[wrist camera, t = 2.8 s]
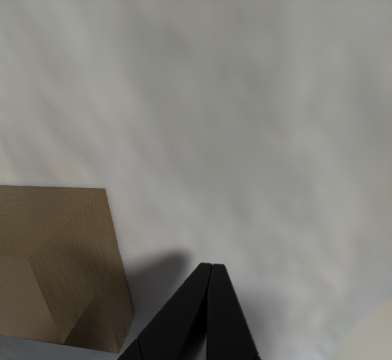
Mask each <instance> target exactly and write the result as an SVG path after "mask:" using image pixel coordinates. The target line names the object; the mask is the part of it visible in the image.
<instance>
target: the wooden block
mask: <svg viewBox="0 0 392 360" xmlns="http://www.w3.org/2000/svg"><path fill="white" fill-rule="evenodd" d="M133 320H134V313H133V309H132V304H131V300H130V295H129V291H128V286H127V282H126V277H125V273H124V268H123V264H122V259H121V255H120V253H119V249H118V244H117V240H116V235H115V231H114V226H113V222H112V217H111V213H110V208H109V204H108V199H107V195H106V190H105V189H102V188H71V187H39V186H7V185H0V335H4V336H10V337H17V338H23V339H29V340H36V341H42V342H48V343H55V344H61V345H68V346H74V347H80V348H87V349H93V350H99V351H106V352H112V353H119V352H120V349H121V347H122V345H123V343H124V340H125V338H126V336H127V333H128V331H129V329H130V326H131V324H132V322H133Z"/></svg>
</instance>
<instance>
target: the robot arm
mask: <svg viewBox="0 0 392 360" xmlns="http://www.w3.org/2000/svg"><path fill="white" fill-rule="evenodd" d="M137 338H138V339H137ZM137 338H136V339H135V340H134V341H133V342H132V343H131V345H130V346H129V347H128V348H127V349H126V350H125V351H124V353H123V354H122V355H121V356H120V357H119V358H118V359H117V360H203V357H204V352H205V347H206V360H261V358H260V356H259V353H258V351H257V348H256V345H255V343H254V340H253V338H252V335H251V332H250V330H249V327H248V324H247V322H246V319H245V316H244V314H243V311H242V309H241V306H240V303H239V301H238V298H237V295H236V293H235V290H234V288H233V285H232V282H231V280H230V277H229V274H228V272H227V269H226V267H225V265H224V264H213V265H212V264H211V263H200V264H199V265H198V266H197V267H196V269H195V270H194V271H193V272H192V273H191V274H190V276H189V277H188V278H187V279H186V280H185V281H184V283H183V284H182V285H181V286H180V287H179V289H178V290H177V291H176V292H175V293H174V294H173V296H172V297H171V298H170V299H169V300H168V301H167V303H166V304H165V305H164V306H163V307H162V308H161V310H160V311H159V312H158V313H157V314H156V315H155V317H154V318H153V319H152V320H151V321H150V322H149V324H148V325H147V326H146V327H145V328H144V329H143V331H142V332H141V333H140V334H139V335H138V337H137ZM206 342H207V344H206Z"/></svg>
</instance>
